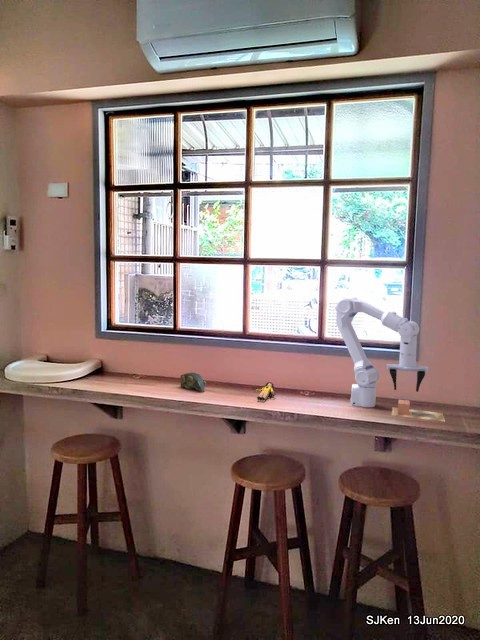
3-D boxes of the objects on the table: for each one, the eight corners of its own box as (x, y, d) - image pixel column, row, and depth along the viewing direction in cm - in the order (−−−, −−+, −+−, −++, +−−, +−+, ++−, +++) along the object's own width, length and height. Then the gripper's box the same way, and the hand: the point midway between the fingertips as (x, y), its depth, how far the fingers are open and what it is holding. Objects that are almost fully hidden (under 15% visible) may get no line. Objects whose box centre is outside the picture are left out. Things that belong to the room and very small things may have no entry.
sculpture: (209, 391, 202) (209, 375, 202) (197, 393, 198) (197, 377, 197) (191, 385, 212) (191, 370, 211) (179, 387, 208) (179, 372, 207)
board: (391, 418, 171) (391, 414, 171) (392, 410, 182) (392, 407, 181) (445, 424, 165) (445, 421, 165) (442, 416, 176) (442, 412, 176)
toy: (251, 394, 189) (262, 379, 202) (251, 404, 190) (262, 389, 204) (269, 396, 186) (279, 381, 200) (270, 407, 188) (279, 391, 201)
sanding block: (397, 413, 173) (398, 403, 172) (397, 409, 178) (398, 399, 178) (409, 415, 172) (409, 404, 171) (408, 410, 177) (409, 400, 177)
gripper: (387, 354, 171) (385, 390, 172) (430, 356, 167) (428, 394, 168) (387, 351, 178) (385, 386, 179) (428, 354, 174) (426, 390, 175)
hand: (406, 390), depth 174 cm, fingers open, 7 cm apart
